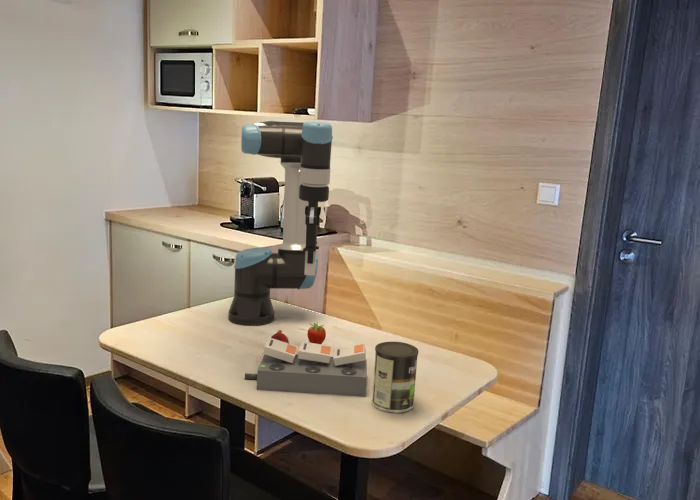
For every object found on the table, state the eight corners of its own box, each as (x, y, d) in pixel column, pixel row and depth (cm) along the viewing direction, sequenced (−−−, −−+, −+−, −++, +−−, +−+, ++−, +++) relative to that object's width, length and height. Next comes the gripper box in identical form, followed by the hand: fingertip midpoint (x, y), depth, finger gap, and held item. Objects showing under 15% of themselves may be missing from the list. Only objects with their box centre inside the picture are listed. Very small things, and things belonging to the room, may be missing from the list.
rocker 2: (300, 348, 167) (301, 340, 166) (330, 353, 167) (331, 345, 166) (297, 358, 160) (299, 350, 159) (329, 363, 160) (330, 355, 160)
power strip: (249, 369, 168) (249, 348, 167) (365, 376, 168) (366, 355, 167) (240, 388, 157) (241, 365, 155) (365, 396, 156) (367, 373, 155)
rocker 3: (336, 355, 167) (334, 348, 167) (365, 350, 167) (364, 342, 166) (335, 365, 160) (333, 358, 160) (365, 360, 160) (364, 352, 159)
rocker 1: (266, 343, 167) (268, 336, 166) (295, 353, 167) (297, 345, 167) (262, 353, 160) (264, 346, 159) (292, 363, 160) (295, 355, 160)
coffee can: (417, 398, 157) (421, 344, 154) (409, 416, 147) (414, 359, 144) (376, 391, 160) (380, 338, 157) (366, 408, 150) (370, 352, 147)
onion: (285, 362, 175) (286, 334, 173) (265, 359, 176) (266, 332, 174) (291, 354, 180) (292, 328, 179) (271, 352, 181) (272, 325, 180)
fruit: (323, 344, 190) (324, 319, 188) (326, 350, 185) (328, 324, 183) (305, 344, 189) (306, 319, 187) (308, 351, 184) (309, 325, 182)
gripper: (301, 180, 166) (297, 266, 171) (297, 187, 153) (293, 280, 159) (330, 182, 166) (325, 268, 172) (328, 189, 153) (322, 282, 159)
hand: (309, 274), depth 165 cm, fingers closed
